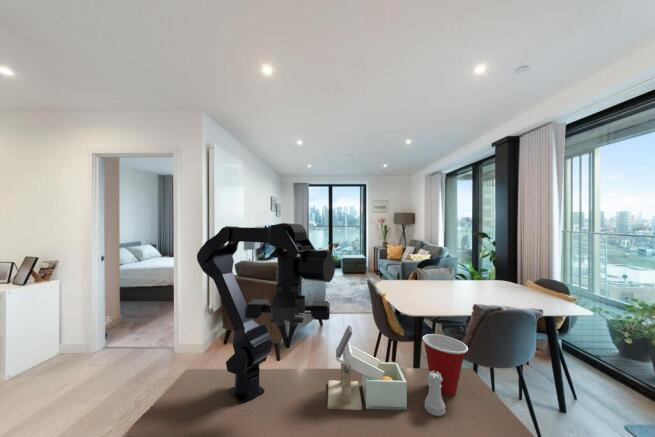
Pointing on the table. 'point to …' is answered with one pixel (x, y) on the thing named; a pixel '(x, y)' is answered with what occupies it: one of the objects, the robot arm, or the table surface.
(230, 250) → the robot arm
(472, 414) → the table surface
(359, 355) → the chute
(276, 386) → the table surface
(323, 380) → the table surface
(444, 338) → the plastic cup
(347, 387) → the stand
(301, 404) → the table surface
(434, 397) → the rook chess piece
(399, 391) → the pale green open box
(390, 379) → the ball
